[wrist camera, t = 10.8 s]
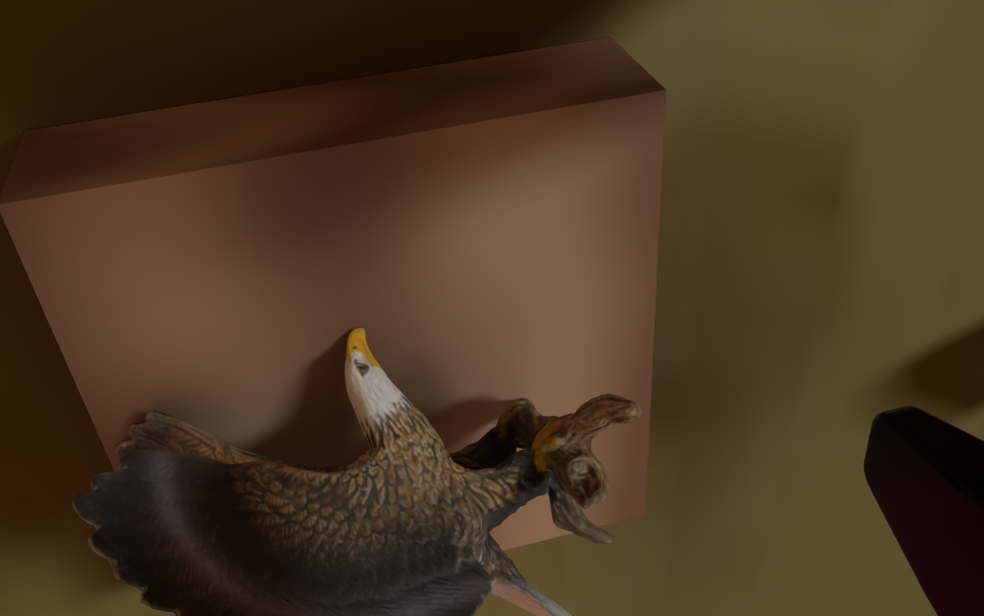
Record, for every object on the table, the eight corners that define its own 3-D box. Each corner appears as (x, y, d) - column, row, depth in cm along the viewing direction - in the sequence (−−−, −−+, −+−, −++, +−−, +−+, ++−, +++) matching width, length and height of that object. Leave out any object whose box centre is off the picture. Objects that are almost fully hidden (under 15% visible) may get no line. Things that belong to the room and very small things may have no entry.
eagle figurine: (550, 203, 17) (24, 351, 14) (729, 580, 15) (153, 847, 12) (476, 350, 24) (113, 469, 21) (590, 621, 22) (204, 795, 19)
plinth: (610, 37, 20) (666, 89, 17) (606, 439, 27) (645, 514, 25) (23, 130, 18) (-4, 204, 16) (186, 537, 25) (184, 630, 23)
